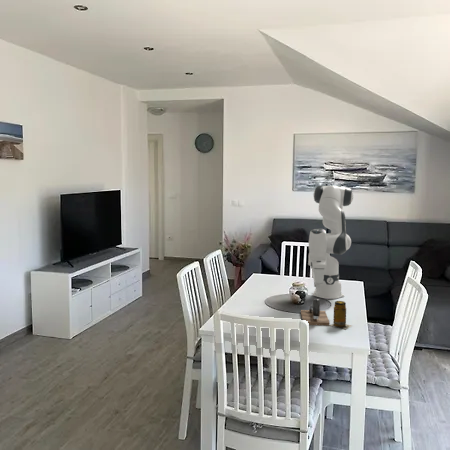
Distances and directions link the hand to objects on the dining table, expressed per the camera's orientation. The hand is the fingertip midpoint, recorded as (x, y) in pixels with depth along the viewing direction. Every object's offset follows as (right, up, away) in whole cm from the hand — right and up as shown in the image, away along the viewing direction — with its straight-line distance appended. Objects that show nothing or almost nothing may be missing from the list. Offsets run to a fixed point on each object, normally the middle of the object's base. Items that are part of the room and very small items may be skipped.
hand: (316, 289), depth 227 cm
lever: (+1, -15, +10) cm, 18 cm away
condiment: (+12, -18, -1) cm, 22 cm away
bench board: (+1, -17, +10) cm, 20 cm away
